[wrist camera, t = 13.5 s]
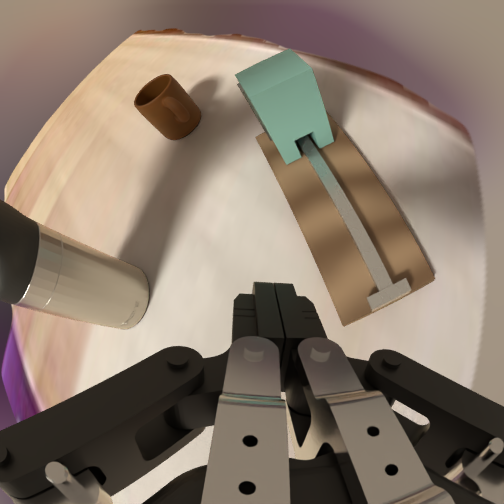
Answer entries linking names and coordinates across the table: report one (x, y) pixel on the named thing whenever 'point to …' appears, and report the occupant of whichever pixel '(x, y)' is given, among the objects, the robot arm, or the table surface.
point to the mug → (168, 107)
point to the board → (334, 230)
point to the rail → (350, 225)
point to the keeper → (287, 102)
